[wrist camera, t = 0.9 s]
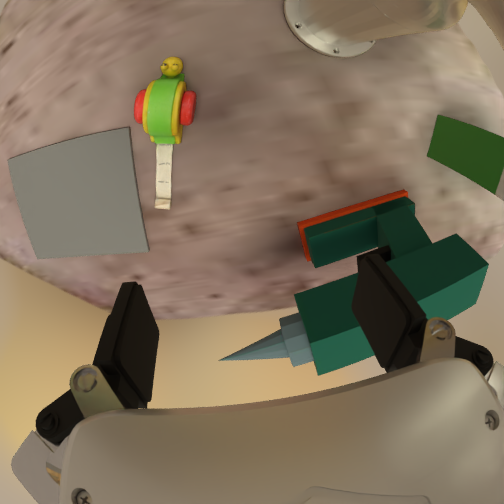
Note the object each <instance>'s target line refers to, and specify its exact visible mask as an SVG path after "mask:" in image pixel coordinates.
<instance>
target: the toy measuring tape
mask: <svg viewBox="0 0 504 504" xmlns="http://www.w3.org/2000/svg"><path fill="white" fill-rule="evenodd" d="M160 68H161V70H162V73H163V75H162V77H161V78H160V79H157V80H153V81H152V82H151V83H150V84H149V85H148V87H147V89H144V90H141V91H140V92H139V93H138V95H137V97H136V100H135V105H134V117H135V120H136V122H137V123H139V124H143V128H144V131H145V132H146V133H149V135H150V140H151V142H155V143H157V147H156V160H157V165H156V200H155V208H159V209H170V208H171V170H172V152H173V144H175V143H176V144H180V143H181V138H182V129H183V125H190V124H192V122H193V118H194V112H195V106H196V93H195V92H194V91H186V83H185V82H184V74H180V73H181V71H182V69H183V63H182V61H181V60H180V59H179V58H177V57H169V58H167V59H165V60H164V61H163V63H162V65H161V66H160Z"/></svg>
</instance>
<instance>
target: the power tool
mask: <svg viewBox="0 0 504 504" xmlns="http://www.w3.org/2000/svg"><path fill="white" fill-rule="evenodd" d="M297 224H298V228H299V232H300V236H301V240H302V244H303V248H304V253H305V257H306V259H307V261H311V260H312V262H313V264H314V267H315V268H318V267H321V266H324V265H327V264H330V263H333V262H336V261H339V260H341V259H344V258H347V257H350V256H353V255H356V254H359V253H362V252H364V251H367V250H370V249H373V248H376V247H378V249H375V250H373V251H370V252H367V253H364V254H361V255H359V256H357V265H358V273H359V268H360V263H361V260H362V259H364V257H365V256H366V255H370V254H379V255H380V256H381V257H382V259H383V260H384V261H385V262H386V263H387V265H388V266H389V267H390V268H391V269H392V271H393V272H394V273H395V274H396V276H397V277H398V278H399V279H400V281H401V282H402V283H403V284H404V286H405V287H406V288H407V289H408V291H409V292H410V293H411V295H412V296H413V297H414V299H415V300H416V301H417V303H418V304H419V305H420V307H421V308H422V309H423V311H424V312H425V313H426V318H427V319H428V320H429V319H431V318H433V317H440V318H443V319H446V320H449V319H451V318H452V317H454V316H456V315H458V314H459V313H461V312H463V311H464V310H466V309H468V308H470V307H471V306H473V305H474V304H476V301H477V299H478V296H479V293H480V290H481V287H482V285H483V281H484V278H485V275H486V272H487V269H488V265H489V264H488V263H487V262H486V261H485V260H484V259H483V258H482V257H481V256H480V255H479V254H478V253H477V252H476V251H475V250H474V249H473V248H472V247H471V246H470V245H469V244H467V243H466V242H465V241H464V240H463V239H462V238H461V237H460V236H459V235H457V234H454V235H452V236H449V237H447V238H445V239H442V240H440V241H438V242H435V243H433V244H432V242H431V240H430V239H429V237H428V235H427V234H426V232H425V231H424V229H423V228H422V226H421V225H420V223H419V222H418V220H417V219H416V217H415V203H414V202H413V201H411V200H410V199H409V198H408V192H407V191H405V190H401V191H397V192H394V193H391V194H387V195H384V196H381V197H378V198H374V199H371V200H368V201H365V202H361V203H358V204H355V205H352V206H348V207H345V208H342V209H339V210H335V211H332V212H329V213H326V214H323V215H320V216H316V217H313V218H310V219H307V220H304V221H301V222H297ZM358 273H356V274H353V275H350V276H347V277H344V278H342V279H339V280H336V281H333V282H330V283H327V284H324V285H321V286H318V287H315V288H312V289H309V290H306V291H303V292H300V293H297V294H294V297H295V300H296V303H297V307H298V310H299V313H296V314H292V315H289V316H286V317H283V318H280V319H279V321H280V326H281V329H280V330H278V331H276V332H274V333H272V334H271V335H269V336H267V337H265V338H263V339H261V340H259V341H257V342H255V343H253V344H251V345H249V346H247V347H245V348H243V349H241V350H239V351H237V352H235V353H233V354H231V355H229V356H227V357H225V358H223V359H221V360H253V359H273V358H286V357H290V360H291V363H292V365H293V366H294V367H295V366H298V365H302V364H305V363H308V362H311V361H314V364H315V367H316V370H317V373H318V375H322V374H325V373H328V372H331V371H334V370H337V369H340V368H343V367H345V366H348V365H351V364H353V363H356V362H359V361H361V360H364V359H366V358H369V357H371V356H374V355H375V354H374V352H373V350H372V348H371V346H370V344H369V342H368V340H367V338H366V336H365V334H364V332H363V331H362V329H361V327H360V325H359V323H358V321H357V319H356V317H355V315H354V314H353V312H352V307H351V305H352V300H353V296H354V291H355V287H356V283H357V278H358Z"/></svg>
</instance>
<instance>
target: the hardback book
mask: <svg viewBox="0 0 504 504" xmlns="http://www.w3.org/2000/svg"><path fill="white" fill-rule="evenodd" d="M427 157H430V158H432V159H434V160H436V161H438V162H440V163H441V164H443V165H445V166H447V167H449V168H451V169H453V170H455V171H456V172H458V173H460V174H462V175H464V176H465V177H467V178H469V179H470V180H472V181H474V182H475V183H477V184H479V185H480V186H482V187H484V188H485V189H487V190H488V191H490V192H491V193H493V194H494V195H496V196H497V197H499V198H500V199H502V200H503V201H504V138H503V137H501V136H499V135H496V134H494V133H491V132H489V131H486V130H484V129H481V128H478V127H476V126H473V125H470V124H467V123H464V122H461V121H458V120H455V119H452V118H448V117H445V116H441V115H438V116H437V120H436V124H435V128H434V132H433V136H432V140H431V143H430V147H429V150H428V154H427Z"/></svg>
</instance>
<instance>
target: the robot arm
mask: <svg viewBox="0 0 504 504" xmlns="http://www.w3.org/2000/svg"><path fill="white" fill-rule="evenodd" d="M468 2H469V3H471V4H472V5H473V6H474V7H475V8H476V10H477V11H478V12H479V13H480V15H481V16H482V18H483V19H484V20H485V22H486V23H487V25H488V26H489V28H490V29H491V30H492V31H493V33H494V34H495V36H496V38H497V40H498V41H499V43H500V45H501V46H502V48H503V50H504V0H285V1H284V14H285V18H286V21H287V23H288V25H289V27H290V29H291V30H292V31H293V33H294V34H295V35H296V36H297V37H298V38H299V40H300V41H301V42H303V43H304V44H305V45H307V46H308V47H309V48H311V49H313V50H315V51H317V52H319V53H321V54H324V55H327V56H331V57H337V58H347V57H353V56H358V55H360V54H363V53H365V52H366V51H368V50H369V49H370V48H371V47H372V46H373V45H374V44H375V42H376V40H378V39H383V38H389V37H394V36H401V35H408V34H416V33H425V32H432V31H440V30H445V29H448V28H450V27H452V26H453V25H455V24H456V23H457V22H458V21H459V20H460V19H461V17H462V16H463V14H464V12H465V10H466V7H467V4H468ZM295 25H297V26H298V28H296V27H295ZM333 50H335V53H334V52H333ZM351 307H352V312H353V314H354V315H355V317H356V319H357V321H358V323H359V325H360V327H361V329H362V331H363V332H364V334H365V336H366V338H367V340H368V342H369V344H370V346H371V348H372V350H373V352H374V354H375V356H376V358H377V360H378V362H379V364H380V366H381V367H382V368H385V370H386V372H387V373H385V374H382V375H379V376H376V377H373V378H369V379H366V380H362V381H359V382H355V383H351V384H347V385H344V386H340V387H336V388H331V389H327V390H323V391H318V392H314V393H309V394H304V395H299V396H293V397H288V398H282V399H276V400H269V401H263V402H255V403H246V404H237V405H227V406H215V407H200V408H199V407H198V408H173V409H147V403H148V402H150V401H151V398H152V388H153V379H154V371H155V363H156V355H157V348H158V341H159V330H158V327H157V324H156V322H155V319H154V317H153V314H152V312H151V309H150V307H149V304H148V301H147V299H146V296H145V293H144V291H143V288H142V286H141V285H138V284H137V282H124V283H122V285H121V288H120V290H119V293H118V296H117V298H116V301H115V304H114V307H113V309H112V312H111V314H110V315H109V316H108V318H107V320H106V323H105V326H104V329H103V332H102V335H101V338H100V341H99V344H98V348H97V351H96V354H95V357H94V361H93V364H92V365H89V364H88V365H83V366H81V367H79V368H77V369H76V370H75V371H74V373H73V374H72V376H71V378H70V384H69V385H70V390H69V391H67V392H66V393H64V394H63V395H62V396H60V397H59V398H58V399H56V400H55V401H54V402H52V403H51V404H50V405H48V406H47V407H45V408H44V409H43V410H42V411H41V412H40V413H39V414H38V416H37V419H36V429H37V430H36V431H35V432H34V431H33V430H32V431H31V432H30V434H29V435H28V437H27V438H26V439H25V441H24V442H23V443H22V445H21V446H20V448H19V449H18V451H17V452H16V453H15V455H14V456H13V459H12V463H11V466H12V470H13V472H14V474H15V476H16V477H17V478H18V480H19V481H20V482H21V483H22V485H23V486H24V487H25V488H26V490H27V491H28V492H29V493H30V494H31V495H32V497H33V498H34V499H35V500H36V501H37V502H38V503H39V504H504V366H503V365H501V364H500V363H498V362H495V363H493V357H492V354H491V353H490V351H489V350H487V348H485V347H483V346H481V345H478V344H475V343H473V342H470V341H467V340H465V339H462V338H460V337H457V336H455V329H454V327H453V326H452V324H451V323H450V322H449V321H447V320H446V319H443V318H440V317H433V318H431V319H429V320H428V319H427V318H426V313H425V312H424V311H423V309H422V308H421V307H420V305H419V304H418V303H417V301H416V300H415V299H414V297H413V296H412V295H411V293H410V292H409V291H408V289H407V288H406V287H405V286H404V284H403V283H402V282H401V281H400V279H399V278H398V277H397V276H396V274H395V273H394V272H393V271H392V269H391V268H390V267H389V266H388V265H387V263H386V262H385V261H384V260H383V259H382V257H381V256H380V255H379V254H370V255H366V256H365V257H364V259H362V260H361V263H360V268H359V273H358V278H357V283H356V287H355V291H354V296H353V300H352V305H351ZM138 408H145V409H138Z"/></svg>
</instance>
